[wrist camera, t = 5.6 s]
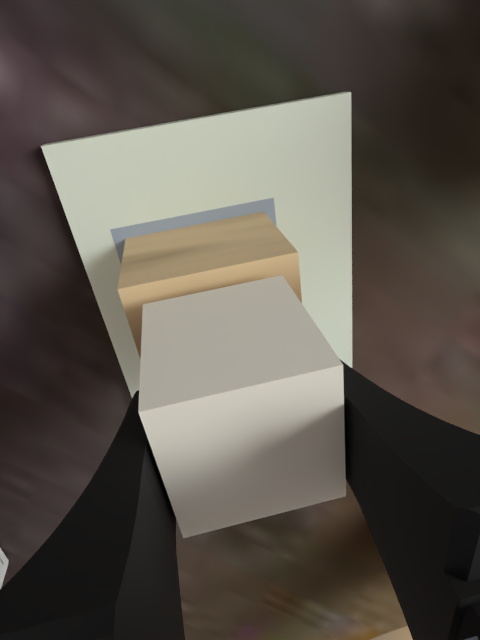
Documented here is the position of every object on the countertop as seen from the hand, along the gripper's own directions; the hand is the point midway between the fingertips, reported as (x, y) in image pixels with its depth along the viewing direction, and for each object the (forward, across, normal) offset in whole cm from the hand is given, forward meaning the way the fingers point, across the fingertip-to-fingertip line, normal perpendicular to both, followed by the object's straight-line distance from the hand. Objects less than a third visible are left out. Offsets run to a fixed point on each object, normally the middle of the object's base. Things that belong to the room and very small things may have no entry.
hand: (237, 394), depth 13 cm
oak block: (+8, 0, 0) cm, 8 cm away
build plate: (+8, -1, +2) cm, 9 cm away
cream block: (+2, 0, 0) cm, 2 cm away
